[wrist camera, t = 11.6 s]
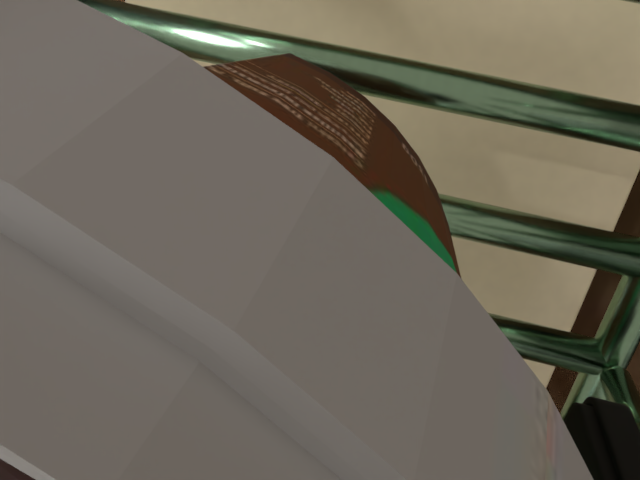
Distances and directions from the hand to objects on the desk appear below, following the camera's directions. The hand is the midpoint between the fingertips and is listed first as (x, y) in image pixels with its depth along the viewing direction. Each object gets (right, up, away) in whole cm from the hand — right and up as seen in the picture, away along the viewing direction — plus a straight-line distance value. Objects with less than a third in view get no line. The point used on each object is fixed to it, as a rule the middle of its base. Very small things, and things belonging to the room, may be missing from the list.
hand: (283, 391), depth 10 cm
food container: (+1, +1, +3) cm, 3 cm away
